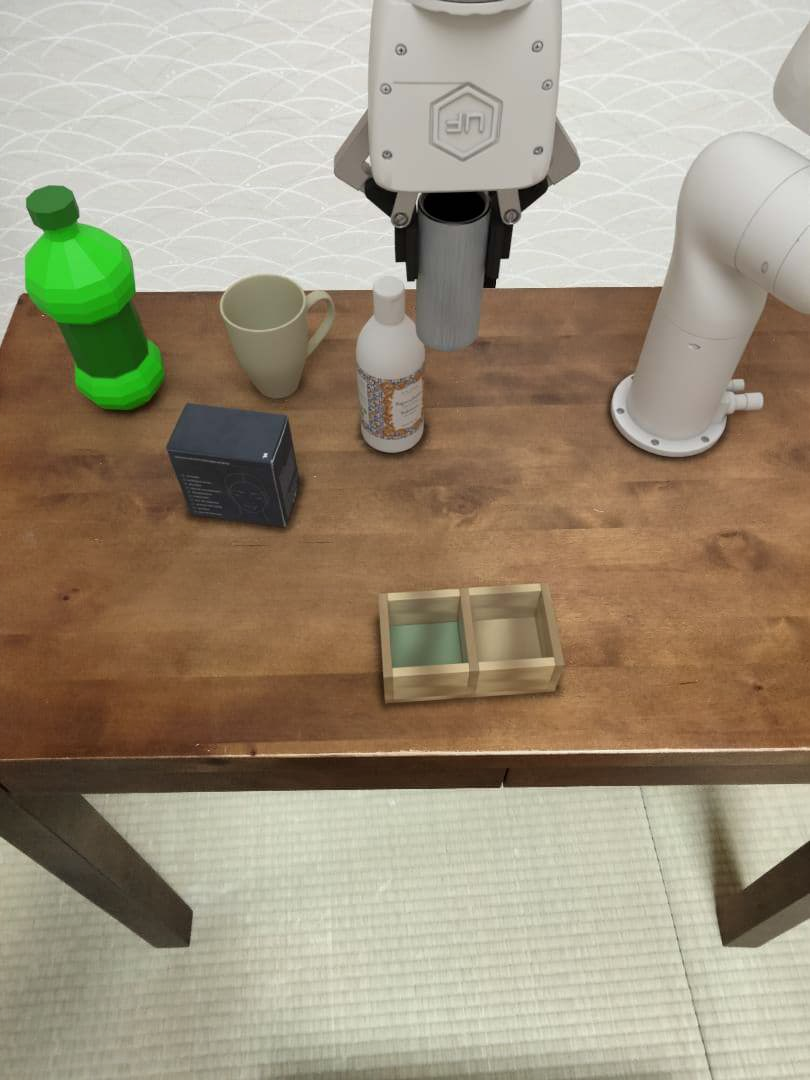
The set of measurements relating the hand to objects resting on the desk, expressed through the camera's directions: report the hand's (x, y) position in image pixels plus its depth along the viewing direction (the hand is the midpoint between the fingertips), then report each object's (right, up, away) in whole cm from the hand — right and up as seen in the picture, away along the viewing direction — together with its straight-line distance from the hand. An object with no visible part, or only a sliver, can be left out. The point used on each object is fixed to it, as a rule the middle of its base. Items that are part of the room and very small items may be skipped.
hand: (450, 264), depth 54 cm
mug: (-17, +1, +42) cm, 45 cm away
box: (-20, -14, +33) cm, 41 cm away
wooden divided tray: (+3, -29, +22) cm, 37 cm away
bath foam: (-4, -6, +38) cm, 38 cm away
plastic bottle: (-35, -1, +41) cm, 54 cm away
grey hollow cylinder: (0, -3, +5) cm, 6 cm away
